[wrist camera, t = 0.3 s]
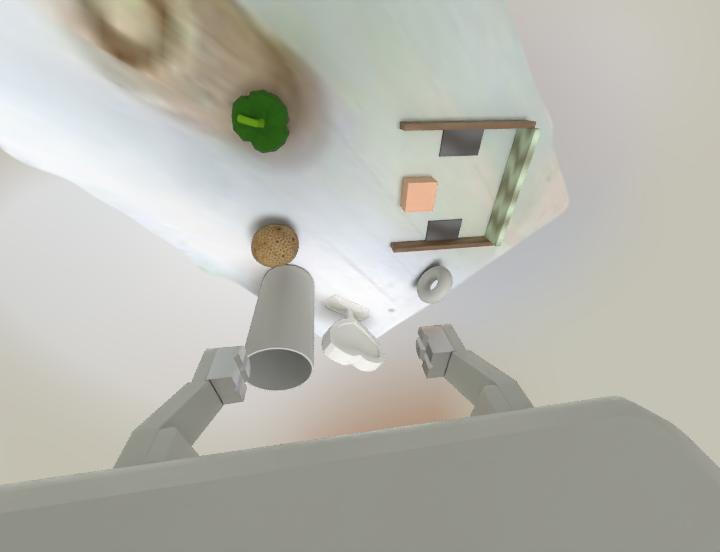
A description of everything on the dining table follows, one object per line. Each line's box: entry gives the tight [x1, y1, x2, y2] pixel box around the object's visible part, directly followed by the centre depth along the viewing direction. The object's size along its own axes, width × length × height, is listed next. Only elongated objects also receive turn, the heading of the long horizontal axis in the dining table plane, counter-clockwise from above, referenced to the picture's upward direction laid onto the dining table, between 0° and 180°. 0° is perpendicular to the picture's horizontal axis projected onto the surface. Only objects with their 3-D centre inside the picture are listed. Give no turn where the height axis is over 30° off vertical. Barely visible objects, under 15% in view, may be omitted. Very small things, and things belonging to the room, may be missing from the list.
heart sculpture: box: [322, 295, 385, 371], centre depth 66 cm, size 16×5×18 cm, turn 55°
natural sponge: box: [251, 224, 299, 267], centre depth 54 cm, size 9×9×10 cm
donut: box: [417, 266, 452, 304], centre depth 66 cm, size 10×4×10 cm, turn 142°
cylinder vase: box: [245, 265, 314, 392], centre depth 56 cm, size 12×12×25 cm
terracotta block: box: [401, 177, 438, 212], centre depth 55 cm, size 6×6×4 cm
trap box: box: [391, 120, 542, 253], centre depth 55 cm, size 26×25×5 cm
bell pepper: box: [232, 90, 289, 153], centre depth 41 cm, size 8×8×10 cm
